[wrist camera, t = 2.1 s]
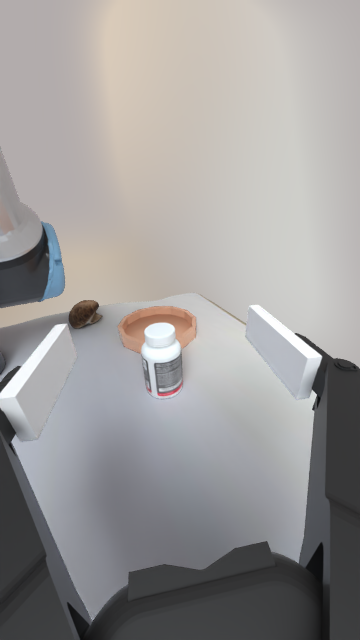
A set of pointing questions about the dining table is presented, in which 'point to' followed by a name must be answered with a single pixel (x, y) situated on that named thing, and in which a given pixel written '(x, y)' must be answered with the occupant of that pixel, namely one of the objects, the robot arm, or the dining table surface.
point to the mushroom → (84, 313)
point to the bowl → (141, 319)
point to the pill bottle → (162, 361)
